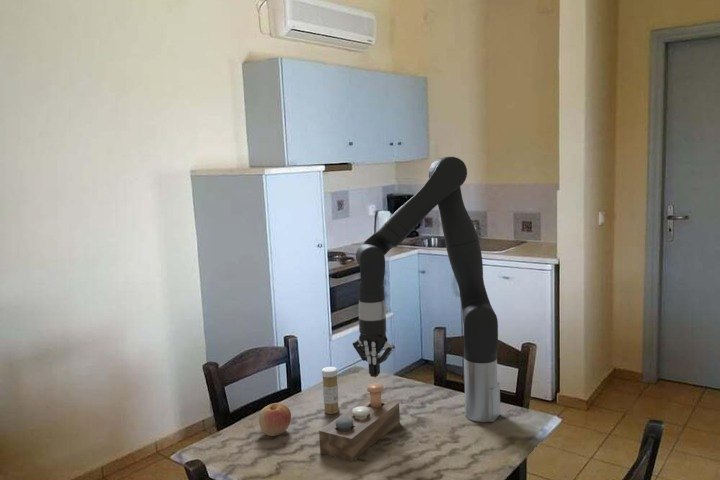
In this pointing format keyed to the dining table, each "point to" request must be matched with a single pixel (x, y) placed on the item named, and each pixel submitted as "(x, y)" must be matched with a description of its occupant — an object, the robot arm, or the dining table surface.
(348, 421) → the charcoal plug
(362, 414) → the cream plug
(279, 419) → the apple
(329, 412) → the sprinkles bottle
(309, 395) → the dining table surface
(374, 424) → the walnut block
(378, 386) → the terracotta plug
